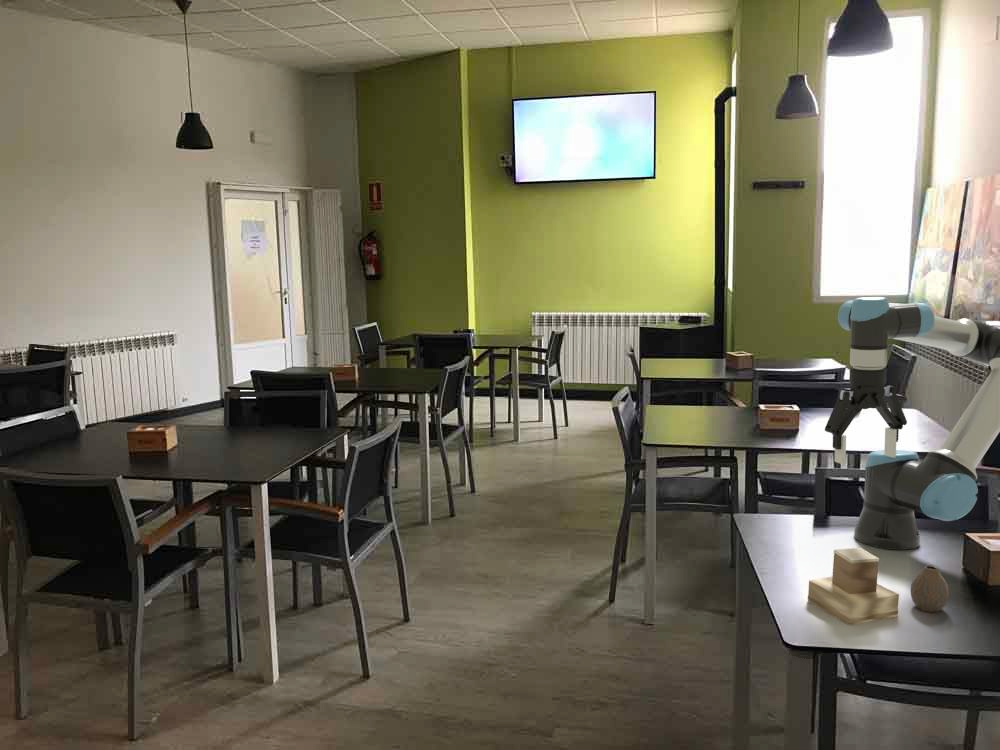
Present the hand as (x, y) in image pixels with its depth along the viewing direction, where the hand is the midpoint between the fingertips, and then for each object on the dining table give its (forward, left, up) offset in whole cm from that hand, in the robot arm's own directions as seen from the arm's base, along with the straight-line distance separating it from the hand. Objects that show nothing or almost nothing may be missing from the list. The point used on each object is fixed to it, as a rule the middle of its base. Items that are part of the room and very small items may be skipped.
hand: (865, 459), depth 189 cm
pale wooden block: (+15, +19, -21) cm, 32 cm away
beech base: (+16, +19, -26) cm, 36 cm away
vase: (0, +22, -26) cm, 34 cm away
